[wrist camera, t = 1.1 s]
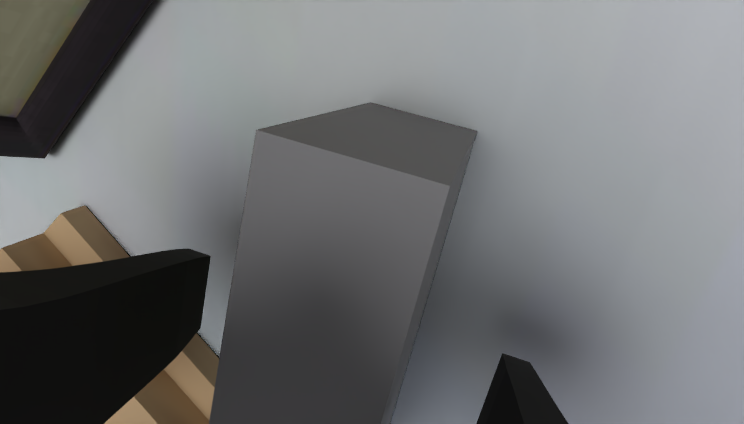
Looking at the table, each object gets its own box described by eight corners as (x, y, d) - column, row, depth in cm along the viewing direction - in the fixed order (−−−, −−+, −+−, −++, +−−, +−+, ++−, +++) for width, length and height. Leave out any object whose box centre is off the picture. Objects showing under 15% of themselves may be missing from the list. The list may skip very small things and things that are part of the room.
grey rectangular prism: (477, 130, 14) (449, 186, 7) (388, 428, 17) (313, 654, 10) (361, 99, 14) (238, 124, 8) (295, 393, 17) (168, 586, 11)
